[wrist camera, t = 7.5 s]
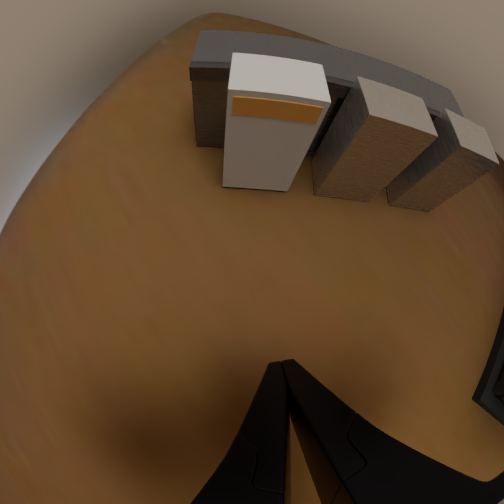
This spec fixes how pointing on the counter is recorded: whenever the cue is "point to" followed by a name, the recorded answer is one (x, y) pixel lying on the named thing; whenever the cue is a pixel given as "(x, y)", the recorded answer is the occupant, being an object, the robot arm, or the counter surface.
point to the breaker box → (357, 122)
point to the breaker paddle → (271, 119)
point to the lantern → (493, 379)
